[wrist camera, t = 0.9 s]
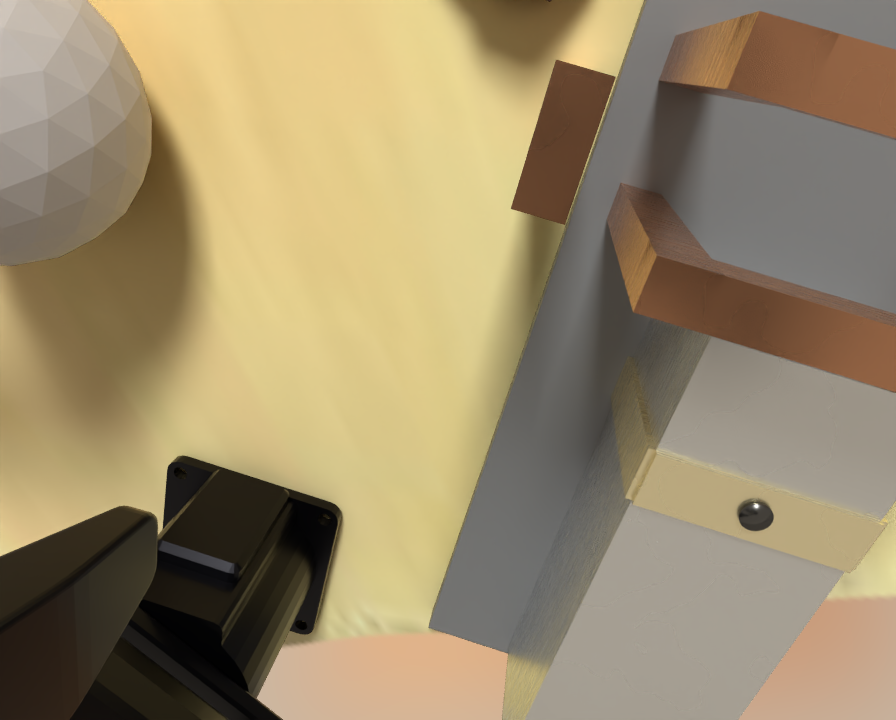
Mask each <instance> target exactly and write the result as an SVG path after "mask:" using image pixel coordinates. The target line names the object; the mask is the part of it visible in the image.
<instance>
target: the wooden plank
mask: <svg viewBox="0 0 896 720" xmlns="http://www.w3.org/2000/svg"><path fill="white" fill-rule="evenodd" d="M614 80H615V77H614V76H611V75H607V74H604V73H600V72H597V71H593V70H590V69H587V68H583V67H580V66H576V65H573V64H569V63H566V62H562V61H559V60H556V62H555V65H554V69H553V72H552V75H551V78H550V82H549V85H548V88H547V92H546V95H545V98H544V101H543V105H542V108H541V111H540V115H539V118H538V121H537V124H536V128H535V131H534V134H533V138H532V141H531V144H530V147H529V151H528V154H527V157H526V161H525V164H524V167H523V171H522V174H521V177H520V180H519V184H518V187H517V190H516V194H515V197H514V200H513V203H512V207H511V209H514V210H517V211H520V212H524V213H527V214H530V215H534V216H537V217H540V218H544V219H547V220H550V221H554V222H557V223H560V224H564V225H565V222H566V219H567V216H568V213H569V211H570V208H571V205H572V202H573V199H574V196H575V193H576V190H577V187H578V185H579V182H580V179H581V176H582V173H583V170H584V167H585V164H586V161H587V158H588V156H589V153H590V150H591V147H592V144H593V141H594V138H595V135H596V132H597V129H598V127H599V124H600V121H601V118H602V115H603V112H604V109H605V106H606V103H607V101H608V98H609V95H610V92H611V89H612V86H613V83H614Z"/></svg>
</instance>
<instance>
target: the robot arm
mask: <svg viewBox="0 0 896 720" xmlns="http://www.w3.org/2000/svg"><path fill="white" fill-rule="evenodd" d="M180 468H182V469H184V470H185V471H186V472H187V473H185V472H183V471H182V470H181V469H180ZM322 514H326V515H328V516H329V517H330V518H331V519H328V518H326V517H324V516H323V515H322ZM340 521H341V511H340V509H339V508H338V507H337V506H336V505H335V504H333V503H331V502H328V501H325V500H322V499H319V498H315V497H312V496H309V495H306V494H303V493H300V492H297V491H294V490H291V489H287V488H284V487H281V486H278V485H275V484H272V483H269V482H266V481H263V480H259V479H256V478H253V477H250V476H247V475H244V474H241V473H238V472H234V471H231V470H228V469H225V468H222V467H219V466H216V465H213V464H210V463H206V462H203V461H200V460H197V459H194V458H191V457H188V456H178V457H177V458H176V459H175V460H174V461H173V462H172V463H171V464H170V465H169V466H168V469H167V481H166V494H165V507H164V520H163V530H162V531H161V532H160V533H159V535H158V522H157V518H156V516H155V515H154V514H152V513H151V512H147V511H144V510H140V509H136V508H133V507H129V506H119V507H116V508H114V509H111V510H109V511H106V512H104V513H102V514H99V515H97V516H95V517H92V518H90V519H88V520H85V521H83V522H80V523H78V524H76V525H73V526H71V527H69V528H66V529H64V530H62V531H59V532H57V533H54V534H52V535H50V536H47V537H45V538H43V539H40V540H38V541H36V542H33V543H31V544H28V545H26V546H24V547H21V548H19V549H17V550H14V551H12V552H10V553H7V554H5V555H2V556H0V720H283V719H282V718H280V717H279V716H278V715H276V714H275V713H274V712H273V711H271V710H270V709H269V708H268V707H266V706H265V705H264V704H262V703H261V702H260V701H259V700H257V699H256V698H257V696H258V694H259V692H260V690H261V688H262V686H263V684H264V682H265V680H266V678H267V676H268V674H269V672H270V669H271V667H272V665H273V663H274V661H275V659H276V657H277V655H278V653H279V651H280V649H281V647H282V645H283V643H284V641H285V639H286V637H287V635H288V633H289V631H293V632H296V633H299V634H304V635H305V634H309V633H311V632H312V630H313V629H314V626H315V624H316V622H317V618H318V614H319V610H320V606H321V601H322V597H323V593H324V589H325V584H326V580H327V576H328V572H329V567H330V563H331V559H332V555H333V551H334V546H335V542H336V538H337V534H338V529H339V525H340ZM303 621H304V622H303Z"/></svg>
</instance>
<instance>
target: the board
mask: <svg viewBox="0 0 896 720" xmlns="http://www.w3.org/2000/svg"><path fill="white" fill-rule="evenodd" d="M757 11H762V12H765V13H769V14H772V15H776V16H779V17H783V18H786V19H790V20H793V21H797V22H800V23H804V24H808V25H811V26H815V27H818V28H822V29H825V30H829V31H832V32H836V33H839V34H843V35H846V36H850V37H853V38H857V39H860V40H864V41H867V42H871V43H874V44H878V45H881V46H885V47H889V48H892V49H896V0H644V2H643V5H642V8H641V11H640V14H639V17H638V20H637V23H636V25H635V28H634V31H633V34H632V37H631V40H630V43H629V46H628V48H627V51H626V54H625V57H624V60H623V63H622V66H621V69H620V72H619V74H618V77H617V80H616V83H615V86H614V89H613V92H612V95H611V98H610V100H609V103H608V106H607V109H606V112H605V115H604V118H603V121H602V124H601V126H600V129H599V132H598V135H597V138H596V141H595V144H594V147H593V149H592V152H591V155H590V158H589V161H588V164H587V167H586V170H585V173H584V175H583V178H582V181H581V184H580V187H579V190H578V193H577V196H576V199H575V201H574V204H573V207H572V210H571V213H570V216H569V219H568V222H567V225H566V227H565V230H564V233H563V236H562V239H561V242H560V245H559V248H558V250H557V253H556V256H555V259H554V262H553V265H552V268H551V271H550V274H549V276H548V279H547V282H546V285H545V288H544V291H543V294H542V297H541V300H540V302H539V305H538V308H537V311H536V314H535V317H534V320H533V323H532V326H531V328H530V331H529V334H528V337H527V340H526V343H525V346H524V349H523V351H522V354H521V357H520V360H519V363H518V366H517V369H516V372H515V375H514V377H513V380H512V383H511V386H510V389H509V392H508V395H507V398H506V401H505V403H504V406H503V409H502V412H501V415H500V418H499V421H498V424H497V426H496V429H495V432H494V435H493V438H492V441H491V444H490V447H489V450H488V452H487V455H486V458H485V461H484V464H483V467H482V470H481V473H480V476H479V478H478V481H477V484H476V487H475V490H474V493H473V496H472V499H471V502H470V504H469V507H468V510H467V513H466V516H465V519H464V522H463V525H462V527H461V530H460V533H459V536H458V539H457V542H456V545H455V548H454V551H453V553H452V556H451V559H450V562H449V565H448V568H447V571H446V574H445V577H444V579H443V582H442V585H441V588H440V591H439V594H438V597H437V600H436V603H435V605H434V608H433V611H432V615H431V619H430V624H429V628H431V629H434V630H437V631H441V632H444V633H447V634H450V635H453V636H456V637H459V638H462V639H465V640H468V641H471V642H474V643H477V644H480V645H483V646H486V647H490V648H493V649H496V650H499V651H502V652H505V653H508V651H509V643H510V641H511V638H512V636H513V634H514V631H515V629H516V627H517V624H518V622H519V620H520V618H521V615H522V613H523V611H524V608H525V606H526V604H527V601H528V599H529V597H530V595H531V592H532V590H533V588H534V585H535V583H536V581H537V578H538V576H539V574H540V572H541V569H542V567H543V565H544V562H545V560H546V558H547V555H548V553H549V551H550V549H551V546H552V544H553V542H554V539H555V537H556V535H557V532H558V530H559V528H560V526H561V523H562V521H563V519H564V516H565V514H566V512H567V509H568V507H569V505H570V503H571V500H572V498H573V496H574V493H575V491H576V489H577V486H578V484H579V482H580V480H581V477H582V475H583V473H584V470H585V468H586V466H587V463H588V461H589V459H590V457H591V454H592V452H593V450H594V447H595V445H596V443H597V440H598V438H599V436H600V434H601V431H602V429H603V427H604V424H605V422H606V420H607V417H608V415H609V413H610V411H611V408H612V404H611V395H612V392H613V390H614V388H615V385H616V383H617V381H618V378H619V376H620V374H621V371H622V369H623V367H624V364H625V362H626V360H627V357H628V356H630V357H633V358H634V355H635V353H636V351H637V348H638V346H639V344H640V342H641V339H642V337H643V335H644V332H645V330H646V328H647V325H648V323H649V321H650V319H651V318H650V317H647V316H644V315H640V314H637V313H634V312H633V310H632V307H631V303H630V300H629V296H628V293H627V289H626V286H625V282H624V279H623V275H622V272H621V268H620V265H619V261H618V258H617V254H616V251H615V247H614V244H613V240H612V237H611V233H610V229H609V226H608V222H607V217H608V215H609V212H610V209H611V207H612V204H613V201H614V199H615V196H616V193H617V191H618V188H619V185H620V183H624V184H628V185H631V186H634V187H638V188H641V189H644V190H648V191H651V192H655V193H658V194H661V195H663V197H664V198H665V199H666V201H667V202H668V203H669V205H670V206H671V207H672V208H673V210H674V211H675V212H676V214H677V215H678V216H679V217H680V219H681V220H682V221H683V223H684V224H685V225H686V226H687V228H688V229H689V230H690V232H691V233H692V234H693V235H694V237H695V238H696V239H697V241H698V242H699V243H700V245H701V246H702V247H703V248H704V250H705V251H706V252H707V254H708V255H709V256H710V257H711V259H714V260H717V261H721V262H724V263H727V264H731V265H734V266H737V267H741V268H744V269H747V270H751V271H754V272H757V273H761V274H764V275H767V276H771V277H774V278H777V279H781V280H784V281H788V282H791V283H794V284H798V285H801V286H804V287H808V288H811V289H814V290H818V291H821V292H824V293H828V294H831V295H834V296H838V297H841V298H844V299H848V300H851V301H854V302H858V303H861V304H864V305H868V306H871V307H874V308H878V309H881V310H884V311H888V312H891V313H894V314H896V140H893V139H889V138H886V137H882V136H879V135H875V134H872V133H869V132H865V131H862V130H858V129H855V128H851V127H848V126H844V125H841V124H837V123H834V122H831V121H827V120H824V119H820V118H817V117H813V116H810V115H806V114H803V113H799V112H796V111H792V110H789V109H786V108H782V107H777V106H772V105H766V104H760V103H755V102H749V101H744V100H738V99H733V98H727V97H722V96H716V95H711V94H705V93H701V92H697V91H694V90H691V89H687V88H684V87H680V86H677V85H673V84H670V83H666V82H663V81H659V78H660V76H661V73H662V70H663V68H664V65H665V62H666V60H667V57H668V54H669V52H670V49H671V46H672V44H673V41H674V38H675V36H676V35H678V34H682V33H685V32H689V31H692V30H696V29H699V28H702V27H706V26H709V25H713V24H716V23H720V22H723V21H726V20H730V19H733V18H737V17H740V16H744V15H747V14H751V13H754V12H757Z"/></svg>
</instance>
